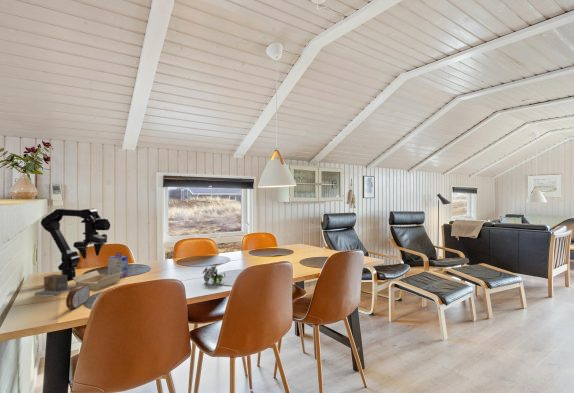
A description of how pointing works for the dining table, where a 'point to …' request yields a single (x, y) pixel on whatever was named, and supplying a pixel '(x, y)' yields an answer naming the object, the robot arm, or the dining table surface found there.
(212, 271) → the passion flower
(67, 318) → the dining table surface
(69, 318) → the dining table surface
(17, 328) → the dining table surface
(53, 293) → the felt pad
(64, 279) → the walnut block
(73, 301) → the tin
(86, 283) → the beige tray
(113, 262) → the ink cartridge box
